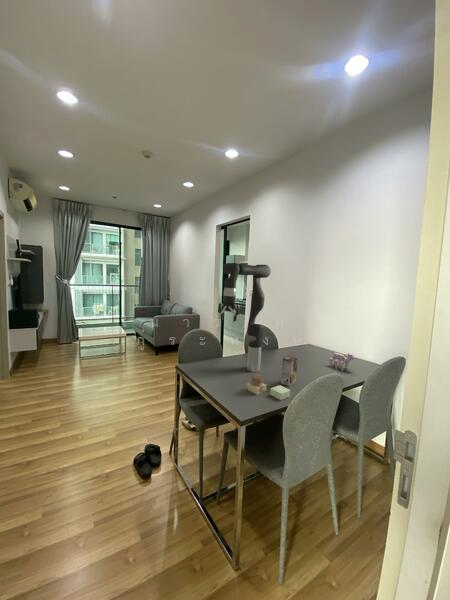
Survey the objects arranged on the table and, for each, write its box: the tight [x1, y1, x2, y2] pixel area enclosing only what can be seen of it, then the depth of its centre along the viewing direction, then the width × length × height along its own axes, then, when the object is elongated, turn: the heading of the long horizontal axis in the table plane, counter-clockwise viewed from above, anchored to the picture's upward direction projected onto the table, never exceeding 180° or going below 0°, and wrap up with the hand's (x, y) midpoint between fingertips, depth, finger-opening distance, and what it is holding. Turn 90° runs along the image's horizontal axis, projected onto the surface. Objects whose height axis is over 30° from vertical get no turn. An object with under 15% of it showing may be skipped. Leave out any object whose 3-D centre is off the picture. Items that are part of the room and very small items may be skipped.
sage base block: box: [269, 384, 291, 401], centre depth 149 cm, size 8×8×4 cm
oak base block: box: [246, 382, 267, 395], centre depth 154 cm, size 8×8×4 cm
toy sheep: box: [328, 352, 357, 372], centre depth 198 cm, size 20×11×14 cm, turn 36°
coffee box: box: [280, 355, 298, 387], centre depth 167 cm, size 9×6×16 cm
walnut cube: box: [251, 373, 263, 387], centre depth 154 cm, size 5×5×5 cm
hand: (228, 320), depth 165 cm, fingers open, 8 cm apart
